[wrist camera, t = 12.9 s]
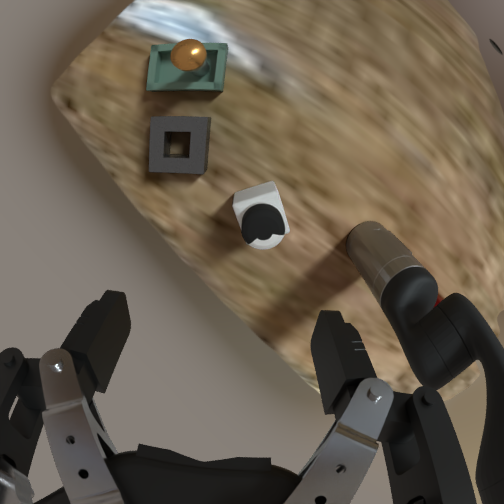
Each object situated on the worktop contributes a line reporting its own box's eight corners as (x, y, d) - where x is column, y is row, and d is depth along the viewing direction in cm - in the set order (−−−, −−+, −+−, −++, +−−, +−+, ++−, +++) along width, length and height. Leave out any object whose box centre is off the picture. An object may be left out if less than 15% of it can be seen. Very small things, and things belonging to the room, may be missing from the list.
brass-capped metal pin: (215, 56, 36) (207, 38, 26) (212, 80, 38) (203, 69, 28) (188, 56, 35) (172, 39, 25) (185, 80, 37) (168, 70, 27)
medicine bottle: (233, 192, 47) (229, 216, 36) (273, 179, 46) (281, 199, 35) (246, 228, 50) (246, 261, 39) (284, 217, 49) (295, 247, 39)
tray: (228, 47, 35) (226, 43, 33) (223, 91, 39) (221, 89, 36) (157, 49, 35) (151, 45, 32) (152, 91, 38) (146, 90, 36)
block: (211, 117, 41) (207, 117, 37) (207, 169, 45) (203, 174, 41) (158, 116, 40) (150, 116, 37) (156, 167, 44) (148, 171, 41)
